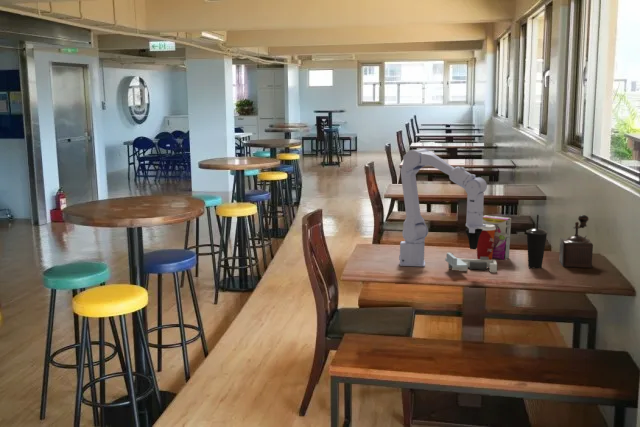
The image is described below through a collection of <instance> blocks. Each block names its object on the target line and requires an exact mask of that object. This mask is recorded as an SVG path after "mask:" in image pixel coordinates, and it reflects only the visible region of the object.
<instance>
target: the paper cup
mask: <svg viewBox="0 0 640 427" xmlns="http://www.w3.org/2000/svg"><path fill="white" fill-rule="evenodd" d="M479 229H483V230H482V232H481V234H480V237H479V240H478V245H477V248H476V258H477V259H480V257H489V260H493V258H492V255H493V246H494V236H495V230H496V228H495V225H492V224H486V227H481V228H479Z"/></svg>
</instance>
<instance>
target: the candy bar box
mask: <svg viewBox="0 0 640 427" xmlns="http://www.w3.org/2000/svg"><path fill="white" fill-rule="evenodd" d="M483 224H492V225H495V228H496V230H495V236H494V246H493V255H492V259H494V258H495V259H494V260H501V261H502V260H503V261H507V260H508V259H509V258H510V248H511V247H510V246H511V244H510V243H511V230H512V229H511V228H512V227H511V226H512V218H511V217H505V216H496V215H486V214H483Z"/></svg>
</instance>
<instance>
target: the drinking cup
mask: <svg viewBox="0 0 640 427" xmlns="http://www.w3.org/2000/svg"><path fill="white" fill-rule="evenodd" d="M539 217H540V216H539V214H536V226H535V227H533V228H530V229H528V230H527V229H526V232H525V233H526V240H527V242H526V243H527V261H528V262H527V263H528V264H527V265H528V267H529V268H530V269H542V268H543V262H544V261H543V260H544V255H545V248H546V241H547V235H548V231H547V230H545V229H542V228H539V220H540V218H539Z"/></svg>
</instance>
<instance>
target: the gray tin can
mask: <svg viewBox="0 0 640 427" xmlns="http://www.w3.org/2000/svg"><path fill="white" fill-rule="evenodd" d="M471 269H479V270H480V271H487V269H488V268H487V262H471V261H470V267H469V270H471ZM479 270H478V271H479Z"/></svg>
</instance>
